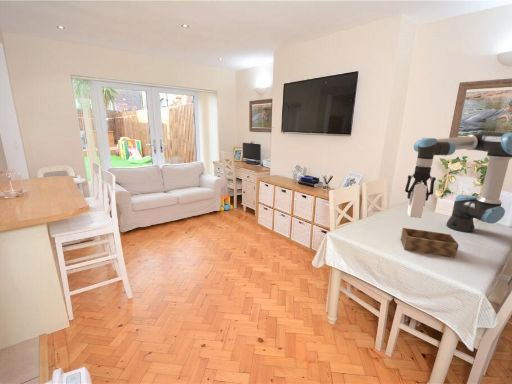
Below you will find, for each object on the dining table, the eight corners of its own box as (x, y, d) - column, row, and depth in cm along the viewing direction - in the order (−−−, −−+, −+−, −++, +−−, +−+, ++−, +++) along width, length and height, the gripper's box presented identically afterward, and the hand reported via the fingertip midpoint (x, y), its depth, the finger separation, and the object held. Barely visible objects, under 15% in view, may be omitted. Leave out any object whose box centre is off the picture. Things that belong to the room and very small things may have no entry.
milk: (409, 217, 149) (416, 180, 143) (406, 213, 155) (413, 178, 149) (421, 218, 147) (428, 181, 141) (418, 214, 153) (424, 179, 147)
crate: (447, 247, 147) (450, 234, 145) (455, 258, 135) (458, 244, 133) (400, 239, 156) (402, 227, 154) (404, 249, 143) (406, 236, 141)
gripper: (442, 166, 143) (434, 205, 149) (403, 163, 150) (397, 200, 156) (445, 168, 136) (437, 209, 142) (404, 165, 143) (398, 204, 149)
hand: (416, 204), depth 149 cm, fingers closed on milk, 6 cm apart
